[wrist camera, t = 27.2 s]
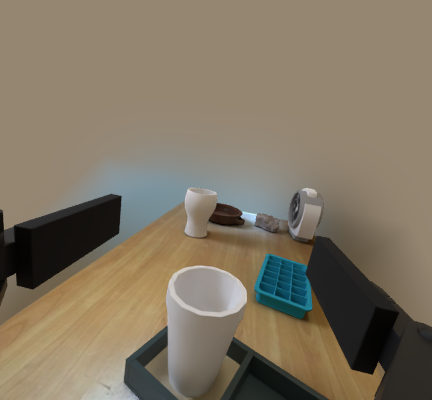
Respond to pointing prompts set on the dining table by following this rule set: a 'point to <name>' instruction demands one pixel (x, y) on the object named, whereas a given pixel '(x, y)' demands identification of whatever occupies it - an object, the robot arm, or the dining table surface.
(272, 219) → the stone
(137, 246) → the dining table surface
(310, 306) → the ice cube tray
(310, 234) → the alarm clock
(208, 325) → the foam cup
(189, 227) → the cup
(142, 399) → the divided tray
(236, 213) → the dish
